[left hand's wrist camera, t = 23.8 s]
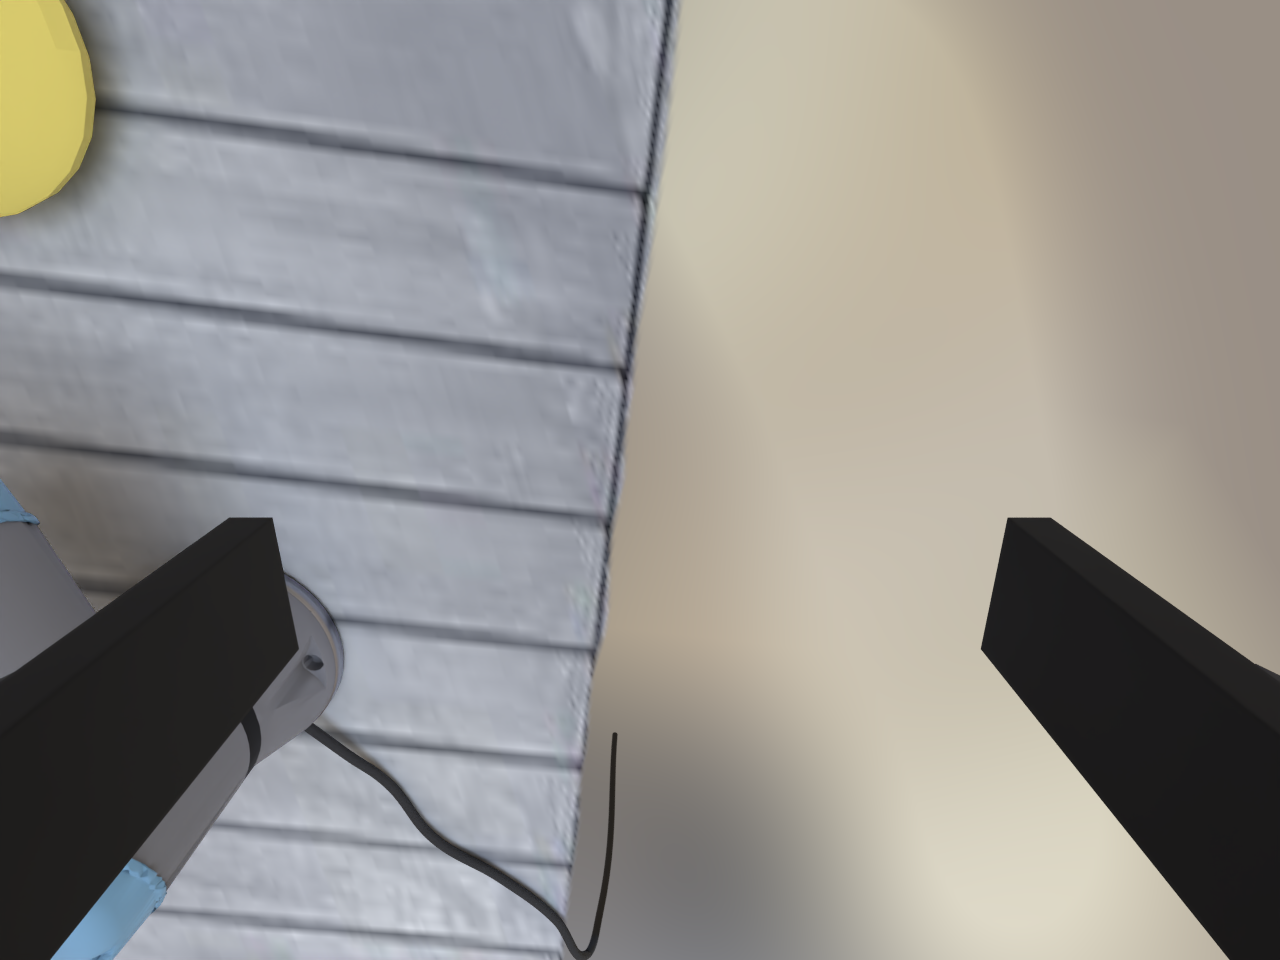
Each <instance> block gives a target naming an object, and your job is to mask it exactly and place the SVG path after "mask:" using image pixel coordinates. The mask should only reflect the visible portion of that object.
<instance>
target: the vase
mask: <svg viewBox="0 0 1280 960" xmlns="http://www.w3.org/2000/svg"><path fill="white" fill-rule="evenodd" d="M95 101H96V98H95V91H94V84H93V78H92V71H91V64H90V58H89V55H88V52H87V50H86V47H85V44H84V42H83V39H82V36H81V34H80V31H79V29H78V26H77V23H76V21H75V18H74V15H73V13H72V12H71V10H70V9H69V7H68V5H67V4H66V2H65V1H64V0H0V217H3V216H9V215H14V214H19V213H21V212H23V211H25V210H27V209H29V208H31V207H33V206H35V205H36V204H38V203H40V202H42V201H44V200H45V199H47V198H49V197H51V196H53V195H55V194H56V193H58V192H59V191H60V190H61V189H62V188H63V186H64V185H65V184H66V183H67V182H68V181H69V180H70V178H71V177H72V176H73V175H74V174H75V173H76V172H77V170H78V169H79V168H80V165H81V163H82V160H83V158H84V155H85V153H86V151H87V148H88V146H89V143H90V141H91V138H92V132H93V122H94V112H95Z"/></svg>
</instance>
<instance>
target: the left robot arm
mask: <svg viewBox="0 0 1280 960" xmlns="http://www.w3.org/2000/svg"><path fill="white" fill-rule="evenodd" d="M39 523H40V522H39V521H38V519H37V518H36V517H35V516H34V515H32V514H31V513H27V512H25V510H24V509H23V508H22V506H21V505H20V504H19V502H18V501H17V500H16V499H15V497H14V496H13V495H12V493H11V492H10V491H9V489H8V488H7V487H6V486H5V484H4V483H3V482H2V480H1V479H0V960H113V959H114V957H115V956H116V955H117V954H118V953H119V952H120V950H121V949H122V948H123V947H124V945H125V944H126V943H127V942H128V941H129V939H130V938H131V937H132V936H133V934H134V933H135V932H136V931H137V930H138V928H139V927H140V926H141V925H142V923H143V922H144V921H145V920H146V919H147V917H148V916H149V915H150V914H151V913H153V912H154V911H155V910H156V909H157V908H158V907H159V906H160V905H161V903H162V902H163V900H164V897H165V895H166V894H167V892H166V891H167V889H168V888H169V886H170V885H171V884H172V882H173V881H174V879H175V878H176V876H177V875H178V874H179V872H180V871H181V869H182V868H183V866H184V865H185V864H186V862H187V861H188V859H189V858H190V856H191V855H192V854H193V852H194V851H195V849H196V848H197V847H198V845H199V844H200V842H201V841H202V839H203V838H204V837H205V835H206V834H207V832H208V831H209V829H210V828H211V827H212V825H213V824H214V822H215V821H216V819H217V818H218V817H219V815H220V814H221V812H222V811H223V810H224V808H225V807H226V805H227V804H228V802H229V801H230V800H231V798H232V797H233V795H234V794H235V792H236V791H237V790H238V788H239V787H240V785H241V784H242V782H243V781H244V779H245V778H246V777H247V775H248V774H249V772H250V771H251V770H252V768H253V767H254V766H255V765H256V764H258V763H259V762H260V761H262V760H263V759H265V758H266V757H267V756H269V755H270V754H272V753H273V752H275V751H276V750H277V749H279V748H280V747H282V746H283V745H285V744H286V743H287V742H289V741H290V740H292V739H293V738H294V737H296V736H297V735H299V734H300V733H301V732H303V731H306V732H307V733H308V734H310V735H311V736H313V737H314V738H315V739H317V740H318V741H320V742H321V743H322V744H324V745H325V746H326V747H328V748H329V749H331V750H332V751H333V752H335V753H336V754H338V755H339V756H340V757H342V758H343V759H345V760H346V761H348V762H349V763H351V764H352V765H354V766H355V767H357V768H359V769H360V770H362V771H363V772H365V773H367V774H368V775H370V776H371V777H373V778H374V779H375V780H377V781H378V782H379V783H380V784H382V785H383V786H384V787H385V788H386V789H387V790H388V791H389V792H390V793H391V794H392V795H393V796H394V798H395V799H396V800H397V801H398V803H399V804H400V805H401V807H402V808H403V809H404V811H405V812H406V814H407V815H408V817H409V818H410V820H411V821H412V822H413V824H414V825H415V826H416V828H417V829H418V830H419V831H420V832H421V833H422V834H423V835H424V836H425V837H426V838H427V839H428V840H429V841H430V842H431V843H432V844H434V845H435V846H436V847H437V848H439V849H440V850H442V851H443V852H445V853H446V854H448V855H449V856H451V857H453V858H455V859H456V860H458V861H460V862H462V863H464V864H466V865H468V866H470V867H472V868H474V869H476V870H478V871H480V872H482V873H484V874H486V875H487V876H489V877H491V878H492V879H494V880H496V881H497V882H499V883H500V884H502V885H503V886H505V887H506V888H508V889H509V890H511V891H512V892H514V893H515V894H517V895H518V896H520V897H521V898H523V899H524V900H526V901H527V902H528V903H530V904H531V905H532V906H534V907H535V908H536V909H538V910H539V911H540V912H541V913H542V914H543V915H545V916H546V917H547V918H548V919H549V920H550V921H551V922H552V923H553V924H554V925H555V926H556V927H557V929H558V930H559V932H560V934H561V935H562V937H563V939H564V941H565V943H566V945H567V947H568V949H569V951H570V953H571V954H572V955H573V957H574V958H575V959H576V960H587V959H589V958H590V957H591V956H592V954H593V953H594V951H595V949H596V946H597V943H598V938H599V934H600V928H601V923H602V918H603V912H604V907H605V902H606V897H607V891H608V884H609V878H610V870H611V862H612V851H613V839H614V820H615V783H616V752H617V736H618V734H617V733H616V732H614V733H613V734H612V745H611V763H610V791H609V818H608V834H607V847H606V857H605V866H604V873H603V880H602V886H601V892H600V897H599V902H598V906H597V911H596V916H595V921H594V927H593V931H592V936H591V939H590V943H589V945H588V947H587V949H586V950H585V951H580V950H579V949H578V948H577V946H576V944H575V942H574V940H573V938H572V936H571V934H570V932H569V930H568V928H567V927H566V925H565V924H564V922H563V921H562V919H561V918H560V917H559V916H558V915H557V914H556V913H555V912H554V911H553V910H552V909H551V908H550V907H549V906H547V905H546V904H545V903H544V902H543V901H541V900H540V899H539V898H538V897H536V896H535V895H534V894H532V893H531V892H530V891H528V890H527V889H525V888H524V887H522V886H521V885H519V884H518V883H516V882H515V881H513V880H512V879H510V878H509V877H507V876H506V875H504V874H503V873H501V872H500V871H498V870H497V869H495V868H493V867H492V866H490V865H488V864H486V863H484V862H482V861H480V860H478V859H476V858H474V857H472V856H470V855H469V854H467V853H465V852H463V851H461V850H459V849H457V848H456V847H454V846H452V845H451V844H449V843H448V842H446V841H445V840H443V839H442V838H441V837H440V836H438V835H437V834H436V833H435V832H434V831H433V830H432V829H431V828H430V827H429V826H428V825H427V824H426V823H425V822H424V821H423V819H422V818H421V817H420V815H419V814H418V813H417V811H416V810H415V808H414V807H413V805H412V804H411V802H410V801H409V800H408V798H407V797H406V795H405V794H404V793H403V792H402V790H401V789H400V788H399V787H398V786H397V785H396V784H395V783H394V782H393V781H392V780H391V779H390V778H389V777H388V776H387V775H386V774H385V773H383V772H382V771H381V770H379V769H378V768H377V767H375V766H374V765H372V764H371V763H369V762H367V761H366V760H364V759H363V758H361V757H359V756H358V755H356V754H355V753H353V752H352V751H351V750H349V749H348V748H346V747H345V746H344V745H342V744H341V743H339V742H338V741H337V740H335V739H334V738H332V737H331V736H330V735H328V734H327V733H326V732H324V731H323V730H322V729H320V728H319V727H317V726H316V725H315V724H313V722H314V721H315V720H316V719H317V718H318V717H319V716H320V715H321V714H322V712H323V711H324V710H325V708H326V707H327V705H328V704H329V702H330V701H331V699H332V698H333V696H334V694H335V693H336V691H337V689H338V687H339V684H340V681H341V678H342V674H343V667H344V656H343V648H342V643H341V639H340V636H339V633H338V631H337V629H336V626H335V624H334V622H333V621H332V619H331V617H330V616H329V614H328V613H327V611H326V610H325V608H324V607H323V606H322V605H321V603H320V602H319V601H318V600H317V599H316V598H315V597H314V596H313V595H312V594H311V593H310V592H309V591H308V590H307V589H305V588H304V587H303V586H302V585H300V584H299V583H298V582H296V581H295V580H293V579H292V578H290V577H288V576H287V575H285V574H284V572H283V568H282V563H281V558H280V553H279V548H278V543H277V538H276V533H275V528H274V523H273V519H272V518H228V519H227V520H225V521H224V522H223V523H221V524H220V525H218V526H217V527H216V528H214V529H213V530H212V531H210V532H209V533H207V534H206V535H205V536H203V537H202V538H200V539H199V540H198V541H196V542H195V543H193V544H192V545H191V546H189V547H188V548H186V549H185V550H184V551H182V552H181V553H179V554H178V555H177V556H175V557H174V558H172V559H171V560H170V561H168V562H167V563H165V564H164V565H163V566H161V567H160V568H159V569H157V570H156V571H154V572H153V573H152V574H150V575H149V576H147V577H146V578H145V579H143V580H142V581H140V582H139V583H138V584H136V585H135V586H133V587H132V588H131V589H129V590H128V591H126V592H125V593H124V594H122V595H121V596H119V597H118V598H117V599H115V600H114V601H112V602H111V603H110V604H108V605H107V606H106V607H104V608H103V609H101V610H100V611H99V612H97V613H96V612H95V611H94V609H93V608H92V606H91V605H90V603H89V602H88V600H87V599H86V597H85V596H84V594H83V593H82V591H81V590H80V589H79V587H78V586H77V584H76V583H75V581H74V580H73V578H72V577H71V575H70V574H69V572H68V571H67V569H66V568H65V566H64V565H63V563H62V562H61V560H60V559H59V557H58V556H57V554H56V553H55V551H54V550H53V548H52V547H51V545H50V544H49V543H48V541H47V540H46V538H45V537H44V535H43V534H42V532H41V531H40V529H39V528H38V526H37V525H38V524H39ZM981 650H982V651H983V652H984V654H985V655H986V656H987V657H988V659H989V660H990V661H991V662H992V664H993V665H994V666H995V667H996V669H997V670H998V671H999V672H1000V674H1001V675H1002V676H1003V677H1004V679H1005V680H1006V681H1007V682H1008V684H1009V685H1010V686H1011V687H1012V689H1013V690H1014V691H1015V692H1016V694H1017V695H1018V696H1019V697H1020V699H1021V700H1022V701H1023V702H1024V704H1025V705H1026V706H1027V707H1028V709H1029V710H1030V711H1031V712H1032V714H1033V715H1034V716H1035V717H1036V719H1037V720H1038V721H1039V722H1040V724H1041V725H1042V726H1043V727H1044V729H1045V730H1046V731H1047V732H1048V734H1049V735H1050V736H1051V737H1052V739H1053V740H1054V741H1055V742H1056V743H1057V745H1058V746H1059V747H1060V749H1061V750H1062V751H1063V752H1064V754H1065V755H1066V756H1067V757H1068V759H1069V760H1070V761H1071V762H1072V764H1073V765H1074V766H1075V767H1076V769H1077V770H1078V771H1079V772H1080V774H1081V775H1082V776H1083V777H1084V778H1085V780H1086V781H1087V782H1088V783H1089V785H1090V786H1091V787H1092V788H1093V790H1094V791H1095V792H1096V794H1097V795H1098V796H1099V797H1100V799H1101V800H1102V801H1103V802H1104V804H1105V805H1106V806H1107V807H1108V809H1109V810H1110V811H1111V812H1112V813H1113V815H1114V816H1115V817H1116V818H1117V820H1118V821H1119V822H1120V824H1121V825H1122V826H1123V827H1124V829H1125V830H1126V831H1127V832H1128V833H1129V835H1130V836H1131V837H1132V838H1133V840H1134V841H1135V842H1136V843H1137V845H1138V846H1139V847H1140V848H1141V850H1142V851H1143V852H1144V853H1145V855H1146V856H1147V857H1148V858H1149V860H1150V861H1151V862H1152V863H1153V865H1154V866H1155V867H1156V868H1157V870H1158V871H1159V872H1160V873H1161V875H1162V876H1163V877H1164V878H1165V880H1166V881H1167V882H1168V883H1169V885H1170V886H1171V887H1172V888H1173V890H1174V891H1175V892H1176V893H1177V895H1178V896H1179V897H1180V898H1181V900H1182V901H1183V902H1184V903H1185V905H1186V906H1187V907H1188V908H1189V910H1190V911H1191V912H1192V913H1193V915H1194V916H1195V917H1196V918H1197V920H1198V921H1199V922H1200V923H1201V925H1202V926H1203V927H1204V928H1205V930H1206V931H1207V932H1208V933H1209V935H1210V936H1211V937H1212V938H1213V940H1214V941H1215V942H1216V943H1217V945H1218V946H1219V947H1220V948H1221V950H1222V951H1223V952H1224V953H1225V955H1226V956H1227V957H1228V958H1229V960H1280V675H1278V674H1276V673H1274V672H1271V671H1269V670H1267V669H1265V668H1263V667H1261V666H1259V665H1257V664H1254V663H1253V662H1251V661H1250V660H1248V659H1247V658H1246V657H1244V656H1243V655H1241V654H1240V653H1239V652H1237V651H1236V650H1234V649H1233V648H1232V647H1230V646H1229V645H1227V644H1226V643H1225V642H1223V641H1222V640H1220V639H1219V638H1218V637H1216V636H1215V635H1214V634H1212V633H1211V632H1209V631H1208V630H1206V629H1205V628H1204V627H1202V626H1201V625H1200V624H1198V623H1197V622H1195V621H1194V620H1193V619H1191V618H1190V617H1188V616H1187V615H1186V614H1184V613H1183V612H1181V611H1180V610H1179V609H1177V608H1176V607H1174V606H1173V605H1172V604H1170V603H1169V602H1168V601H1166V600H1165V599H1163V598H1162V597H1161V596H1159V595H1158V594H1156V593H1155V592H1154V591H1152V590H1151V589H1149V588H1148V587H1147V586H1145V585H1144V584H1142V583H1141V582H1140V581H1138V580H1137V579H1135V578H1134V577H1133V576H1131V575H1130V574H1128V573H1127V572H1126V571H1124V570H1123V569H1121V568H1120V567H1119V566H1117V565H1116V564H1115V563H1113V562H1112V561H1110V560H1109V559H1108V558H1106V557H1105V556H1103V555H1102V554H1101V553H1099V552H1098V551H1096V550H1095V549H1094V548H1092V547H1091V546H1089V545H1088V544H1087V543H1085V542H1084V541H1082V540H1081V539H1080V538H1078V537H1077V536H1075V535H1074V534H1073V533H1071V532H1070V531H1068V530H1067V529H1066V528H1064V527H1063V526H1062V525H1060V524H1059V523H1057V522H1056V521H1055V520H1053V519H1052V518H1008V519H1007V524H1006V528H1005V533H1004V538H1003V543H1002V548H1001V553H1000V558H999V563H998V568H997V572H996V578H995V582H994V587H993V592H992V597H991V602H990V607H989V612H988V617H987V621H986V627H985V631H984V636H983V641H982V646H981Z"/></svg>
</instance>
